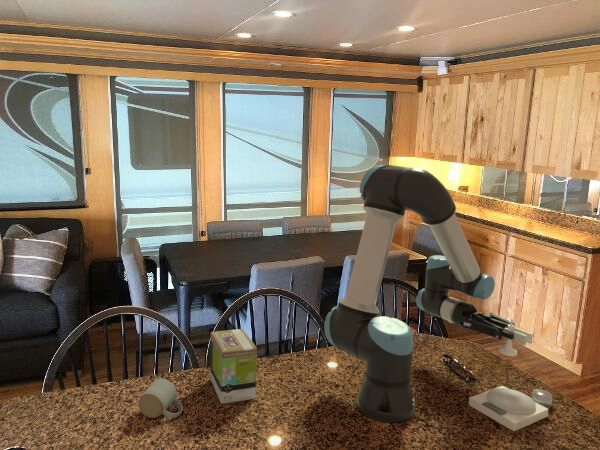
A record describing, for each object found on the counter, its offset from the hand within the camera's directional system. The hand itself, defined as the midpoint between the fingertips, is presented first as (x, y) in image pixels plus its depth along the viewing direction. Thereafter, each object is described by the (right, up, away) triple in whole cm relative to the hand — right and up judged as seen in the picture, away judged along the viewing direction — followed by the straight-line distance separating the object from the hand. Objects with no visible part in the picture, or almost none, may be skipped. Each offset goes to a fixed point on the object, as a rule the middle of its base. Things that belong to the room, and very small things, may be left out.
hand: (528, 339), depth 137 cm
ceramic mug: (-98, -17, -9) cm, 99 cm away
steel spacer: (+4, -18, +2) cm, 19 cm away
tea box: (-82, -15, +4) cm, 83 cm away
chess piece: (-3, -5, +6) cm, 8 cm away
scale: (-7, -18, -3) cm, 20 cm away
